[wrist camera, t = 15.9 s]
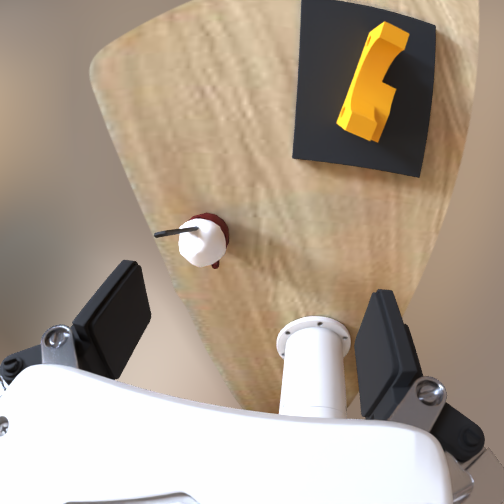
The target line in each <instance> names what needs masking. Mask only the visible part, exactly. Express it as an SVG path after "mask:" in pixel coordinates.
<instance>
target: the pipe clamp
mask: <svg viewBox="0 0 504 504" xmlns="http://www.w3.org/2000/svg"><path fill="white" fill-rule="evenodd" d="M408 37H409V33H407V32H405V31H403V30H401V29H399V28H398V27H396V26H394V25H392V24H389V23H387V22H385V21H384V22H383V23H382V24H380V25H379V26H378V27H376V28H375V29H374V30H372V31H371V32H370V33H369V35H368V38H367V41H366V44H365V46H364V49H363V52H362V55H361V58H360V61H359V63H358V66H357V69H356V72H355V74H354V77H353V80H352V83H351V85H350V88H349V91H348V94H347V96H346V99H345V102H344V104H343V107H342V110H341V112H340V115H339V118H338V120H337V124H338V125H339V126H341V127H342V128H343V129H344V130H346V131H348V132H350V133H353V134H355V135H357V136H360V137H362V138H364V139H366V140H369V141H370V140H373V141H375V142H377V143H378V141H379V139H380V136H381V134H382V131H383V129H384V126H385V124H386V121H387V119H388V116H389V114H390V108H391V104H392V100H393V97H394V94H395V91H396V89H395V88H393V87H391V86H389V85H387V84H385V83H383V82H382V80H383V78H384V76H385V74H386V72H387V70H388V68H389V66H390V64H391V63H392V61H393V60H394V58H395V57H396V56H397V55H398V54H399V53H400V52H401V51H403V50H404V49H405V46H406V43H407V40H408Z"/></svg>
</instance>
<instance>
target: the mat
mask: <svg viewBox="0 0 504 504" xmlns="http://www.w3.org/2000/svg"><path fill="white" fill-rule="evenodd" d="M384 21H385V22H387V23H389V24H392V25H394V26H396V27H398V28H399V29H401V30H403V31H405V32H407V33H409V37H408V40H407V43H406V46H405V49H404V50H403V51H401V52H400V53H399V54H398V55H397V56H396V57H395V58H394V60H393V61H392V63H391V64H390V66H389V68H388V70H387V72H386V74H385V76H384V78H383V80H382V82H383V83H385V84H387V85H389V86H391V87H393V88H395V89H396V91H395V94H394V97H393V100H392V104H391V108H390V114H389V116H388V119H387V121H386V124H385V126H384V129H383V131H382V134H381V136H380V139H379V141H378V143H377V142H375V141H373V140H370V141H369V140H366V139H364V138H362V137H360V136H357V135H355V134H353V133H350V132H348V131H346V130H344V129H343V128H342V127H341V126H339V125H338V124H337V120H338V118H339V115H340V112H341V110H342V107H343V104H344V102H345V99H346V96H347V94H348V91H349V88H350V85H351V83H352V80H353V77H354V74H355V72H356V69H357V66H358V63H359V61H360V58H361V55H362V52H363V49H364V46H365V44H366V41H367V38H368V35H369V33H370V32H371V31H372V30H374V29H375V28H376V27H378V26H379V25H380V24H382V23H383V22H384ZM435 45H436V26H435V25H432V24H430V23H427V22H424V21H421V20H418V19H415V18H411V17H408V16H405V15H401V14H398V13H394V12H390V11H387V10H383V9H378V8H374V7H370V6H365V5H360V4H355V3H349V2H343V1H337V0H301V27H300V49H299V68H298V86H297V101H296V116H295V130H294V143H293V155H292V158H294V159H303V160H312V161H321V162H329V163H336V164H343V165H350V166H357V167H363V168H370V169H376V170H381V171H387V172H392V173H398V174H403V175H408V176H413V177H418V178H419V177H420V172H421V167H422V162H423V157H424V152H425V146H426V140H427V133H428V127H429V120H430V112H431V103H432V94H433V83H434V69H435Z"/></svg>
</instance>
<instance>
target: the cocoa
mask: <svg viewBox="0 0 504 504" xmlns="http://www.w3.org/2000/svg"><path fill="white" fill-rule="evenodd" d="M175 234H180V239H179V248H180V254H181V255H183V256H184V257H185V258H186V259H187V260H188V261H189V262H190V263H191V264H193V265H195V266H197V267H203V266H207V265H212V268H213V269H217V268H218V267H219V259H220V258H221V257H222V256H224V254H225V252H226V248H227V245H228V243H229V233H228V227H227V225H226V224H225V222H224V221H223V220H222V219H221V218H220V217H218V216H217V215H215V214H210V213H204V214H200V215H196V216H193V217H192V218H191V219H190V220H189V221H187V222H186V223H184V224H183V225H182V226H181V227H180V229H173V230H166V231H161V232H157V233H155V234H154V237H156V238H158V237H163V236H169V235H175Z"/></svg>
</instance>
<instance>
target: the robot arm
mask: <svg viewBox="0 0 504 504" xmlns="http://www.w3.org/2000/svg"><path fill="white" fill-rule="evenodd" d="M150 319H151V311H150V307H149V302H148V298H147V293H146V289H145V284H144V279H143V274H142V269H141V266H140V265H138V263H137V262H136V261H129V260H123V261H122V262H121V263H120V264H119V265H118V266H117V267H116V269H115V270H114V271H113V272H112V274H110V276H109V277H108V278H107V279H106V281H105V282H104V283H103V284H102V285H101V286H100V288H99V289H98V290H97V291H96V293H95V294H94V295H93V296H92V298H91V299H90V300H89V301H88V303H87V304H86V305H85V306H84V308H83V309H82V310H81V312H80V313H79V314H78V315H77V317H76V318H75V319H74V321H73V322H72V323H73V325H72V326H71V328H70V327H68V326H66V325H56V326H53V327H51V328H49V329H48V330H47V331H46V332H45V333H44V334H43V336H42V339H41V344H40V345H37V346H34V347H31V348H28V349H25V350H23V351H20V352H17V353H14V354H11V355H9V356H7V357H6V358H5V359H4V360H3V362H2V363H1V366H0V504H502V502H503V501H504V467H503V466H502V465H501V463H500V462H499V461H498V459H497V458H496V456H495V455H494V454H493V452H492V451H491V450H490V448H489V447H488V448H487V449H486V448H485V447H484V441H485V438H484V434H483V431H482V430H481V428H480V427H479V426H478V425H477V424H475V423H474V422H472V421H471V420H470V419H468V418H467V417H466V416H464V415H463V414H461V413H460V412H459V411H457V410H456V409H454V408H453V407H451V406H450V405H449V404H448V403H446V399H447V392H446V389H445V387H444V386H443V384H442V383H441V382H440V381H439V380H437V379H435V378H433V377H429V376H423V374H422V370H421V367H420V363H419V359H418V356H417V353H416V349H415V346H414V343H413V340H412V336H411V333H410V330H409V327H408V325H406V324H404V323H403V320H402V317H401V314H400V311H399V308H398V305H397V302H396V299H395V296H394V294H393V291H392V290H382V289H378V290H377V292H376V293H372V295H371V298H370V301H369V304H368V307H367V310H366V312H365V315H364V318H363V321H362V323H361V326H360V329H359V331H358V334H357V337H356V339H355V344H354V349H355V356H356V365H357V374H358V383H359V393H360V404H361V414H362V416H363V417H365V418H366V419H347V407H346V389H345V375H344V362H343V358H344V357H345V356H346V354H347V353H348V351H349V350H350V346H351V338H350V334H349V332H348V330H347V328H346V327H345V326H344V325H343V324H341V323H340V322H338V321H336V320H334V319H331V318H327V317H321V316H310V317H304V318H300V319H297V320H295V321H293V322H291V323H289V324H288V325H286V326H285V327H284V328H283V329H282V330H281V331H280V333H279V335H278V338H277V350H278V353H279V355H280V356H281V357H282V358H283V359H284V371H283V381H282V391H281V400H280V410H279V414H272V413H264V412H256V411H249V410H242V409H236V408H229V407H223V406H217V405H212V404H207V403H202V402H197V401H192V400H187V399H183V398H179V397H174V396H170V395H166V394H162V393H158V392H154V391H150V390H147V389H143V388H139V387H136V386H132V385H129V384H126V383H122V382H119V381H115V379H118V378H119V377H120V375H121V373H122V372H123V369H124V368H125V366H126V364H127V362H128V360H129V358H130V357H131V355H132V353H133V351H134V349H135V347H136V345H137V344H138V342H139V340H140V338H141V336H142V334H143V333H144V330H145V329H146V327H147V325H148V324H149V322H150Z"/></svg>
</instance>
